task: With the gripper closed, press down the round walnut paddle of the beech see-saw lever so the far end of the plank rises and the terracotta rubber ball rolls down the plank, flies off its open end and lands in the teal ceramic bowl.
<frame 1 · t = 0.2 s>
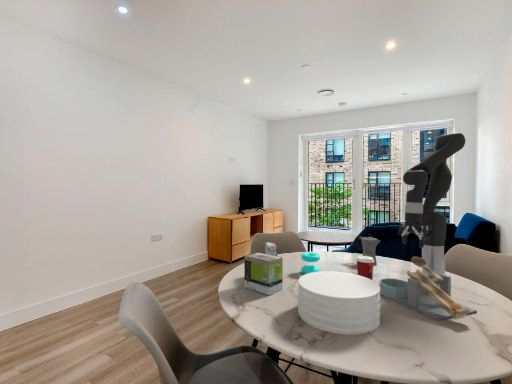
hand: (412, 245, 132), 18 cm above the table, tool pointing down, fingers open, 8 cm apart
stand: (421, 305, 107), on the table
lever: (435, 281, 107), point 9 cm above the table, hinge at 25.1°, touching ball
donuts: (310, 273, 148), on the table
tea box: (263, 289, 125), on the table
ball: (456, 307, 94), point 5 cm above the table, tilted 33°, touching lever
bowl: (395, 293, 119), on the table
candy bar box: (270, 276, 143), on the table
paper cup: (364, 288, 125), on the table
coffeepot: (367, 263, 167), on the table
plate stack: (337, 314, 100), on the table
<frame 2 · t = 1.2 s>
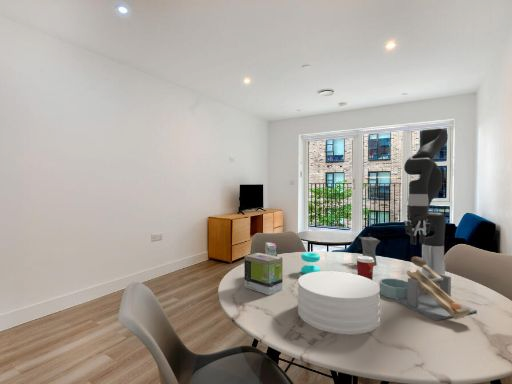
hand: (417, 243, 120), 21 cm above the table, tool pointing down, fingers open, 4 cm apart
nothing on the table moved.
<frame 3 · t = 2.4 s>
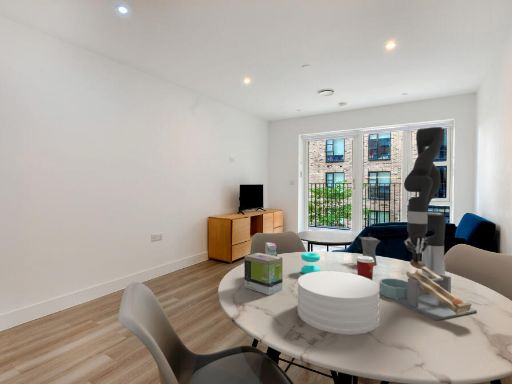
hand: (416, 261, 120), 13 cm above the table, tool pointing down, fingers closed
lever: (434, 280, 107), point 10 cm above the table, hinge at 18.0°, touching ball, gripper
ball: (457, 302, 94), point 7 cm above the table, tilted 25°, touching lever
everything else where it was.
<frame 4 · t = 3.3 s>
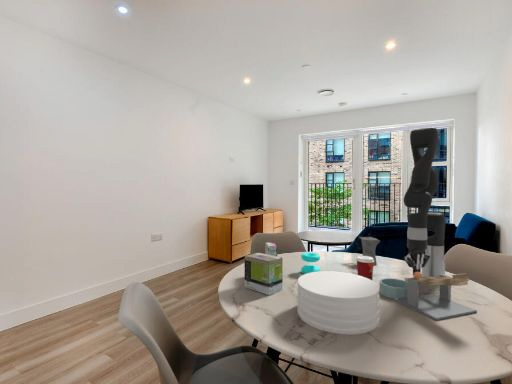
hand: (416, 277, 121), 7 cm above the table, tool pointing down, fingers closed
lever: (433, 277, 108), point 10 cm above the table, hinge at -16.6°, touching gripper
ball: (417, 275, 108), point 11 cm above the table, tilted 136°
everything else where it was.
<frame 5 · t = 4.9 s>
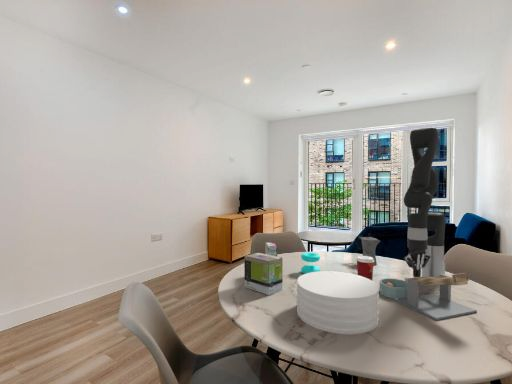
hand: (416, 277, 120), 7 cm above the table, tool pointing down, fingers closed
lever: (433, 277, 108), point 10 cm above the table, hinge at -17.0°, touching gripper
ball: (389, 286, 122), point 2 cm above the table, tilted 137°, touching bowl
everything else where it was.
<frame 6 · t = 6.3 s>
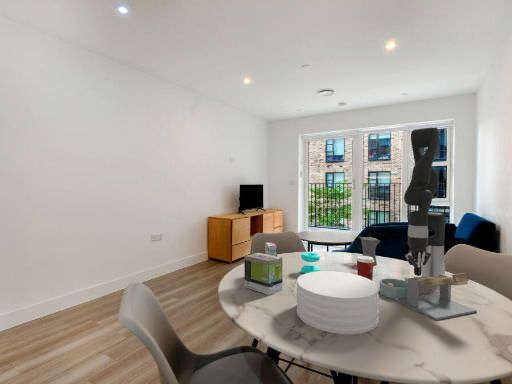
hand: (417, 275, 120), 8 cm above the table, tool pointing down, fingers closed
lever: (433, 277, 108), point 10 cm above the table, hinge at -17.0°
ball: (390, 286, 122), point 2 cm above the table, tilted 114°, touching bowl
everything else where it was.
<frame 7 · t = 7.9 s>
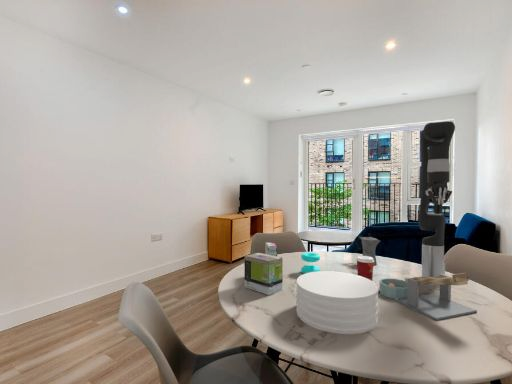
hand: (437, 213, 112), 35 cm above the table, tool pointing down, fingers closed
ball: (391, 287, 121), point 2 cm above the table, tilted 86°, touching bowl
everything else where it was.
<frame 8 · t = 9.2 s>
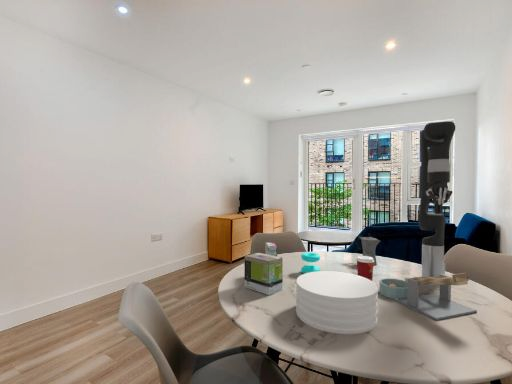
hand: (438, 213, 112), 35 cm above the table, tool pointing down, fingers closed
ball: (392, 287, 120), point 2 cm above the table, tilted 64°, touching bowl
everything else where it was.
at the end: ball inside the target area on the bowl (1.5 cm from its centre), point 2.1 cm above the bowl's base; lever at -17° (first picture: +25°); ball touching bowl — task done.
